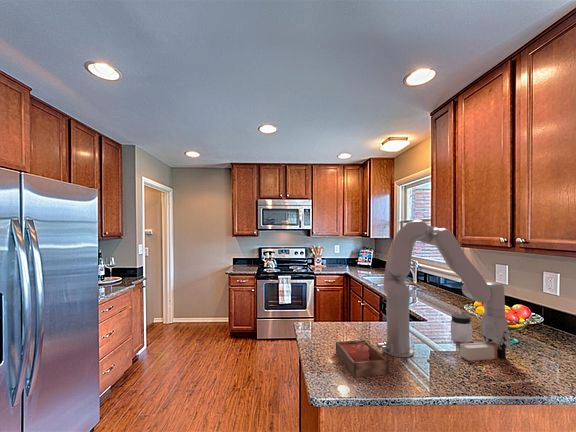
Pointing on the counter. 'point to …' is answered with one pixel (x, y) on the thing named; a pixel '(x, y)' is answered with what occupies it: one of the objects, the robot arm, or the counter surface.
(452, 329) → the jar
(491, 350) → the beige box
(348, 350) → the pottery
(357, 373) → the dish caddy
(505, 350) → the stub
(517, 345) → the counter surface
